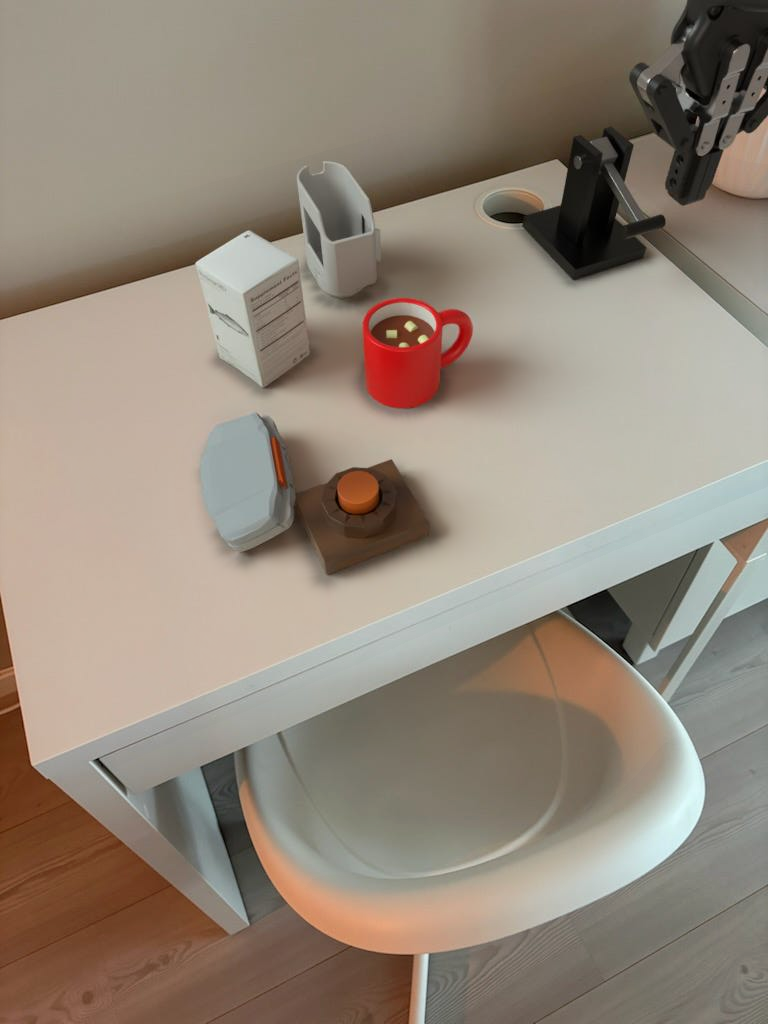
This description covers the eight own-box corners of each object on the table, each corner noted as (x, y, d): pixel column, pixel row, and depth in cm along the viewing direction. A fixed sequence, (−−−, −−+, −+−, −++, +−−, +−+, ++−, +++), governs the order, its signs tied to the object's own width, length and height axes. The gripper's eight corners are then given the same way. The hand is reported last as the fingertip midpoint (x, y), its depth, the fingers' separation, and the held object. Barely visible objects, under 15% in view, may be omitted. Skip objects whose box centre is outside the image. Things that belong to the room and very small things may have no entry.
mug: (486, 378, 80) (494, 320, 73) (386, 418, 77) (385, 361, 70) (449, 334, 84) (453, 275, 77) (353, 370, 81) (348, 312, 74)
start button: (385, 506, 66) (385, 494, 64) (348, 520, 65) (346, 509, 64) (369, 477, 68) (368, 465, 66) (332, 490, 67) (331, 478, 65)
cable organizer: (333, 318, 86) (324, 225, 76) (299, 257, 93) (286, 164, 83) (387, 303, 87) (385, 209, 77) (349, 244, 94) (343, 151, 84)
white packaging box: (218, 359, 82) (191, 260, 72) (268, 325, 85) (249, 226, 75) (262, 391, 79) (241, 293, 69) (313, 354, 82) (300, 256, 72)
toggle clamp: (643, 257, 91) (674, 155, 81) (572, 280, 89) (595, 178, 78) (589, 206, 97) (611, 106, 87) (521, 226, 95) (536, 125, 85)
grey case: (222, 562, 67) (304, 532, 66) (206, 547, 65) (290, 515, 64) (208, 444, 76) (280, 415, 75) (193, 426, 73) (268, 396, 72)
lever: (659, 233, 83) (669, 218, 81) (621, 245, 82) (630, 230, 80) (609, 149, 86) (617, 133, 84) (571, 160, 85) (579, 143, 83)
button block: (428, 535, 68) (429, 509, 65) (326, 575, 66) (322, 551, 63) (392, 473, 72) (391, 446, 69) (295, 508, 70) (289, 482, 67)
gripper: (729, -74, 34) (635, 253, 48) (946, -121, 37) (798, 201, 51) (632, -120, 38) (572, 194, 52) (835, -159, 41) (726, 148, 55)
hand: (684, 197), depth 52 cm, fingers closed
